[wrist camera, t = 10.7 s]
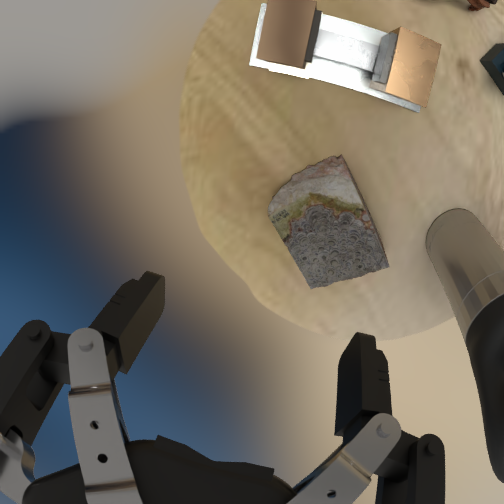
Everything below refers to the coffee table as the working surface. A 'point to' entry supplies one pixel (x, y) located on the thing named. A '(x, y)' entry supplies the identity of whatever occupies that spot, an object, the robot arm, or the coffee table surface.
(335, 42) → the grey and brown stand
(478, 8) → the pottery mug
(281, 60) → the brown wooden block
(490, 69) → the watch
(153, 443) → the robot arm
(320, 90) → the coffee table surface
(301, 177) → the geological specimen
